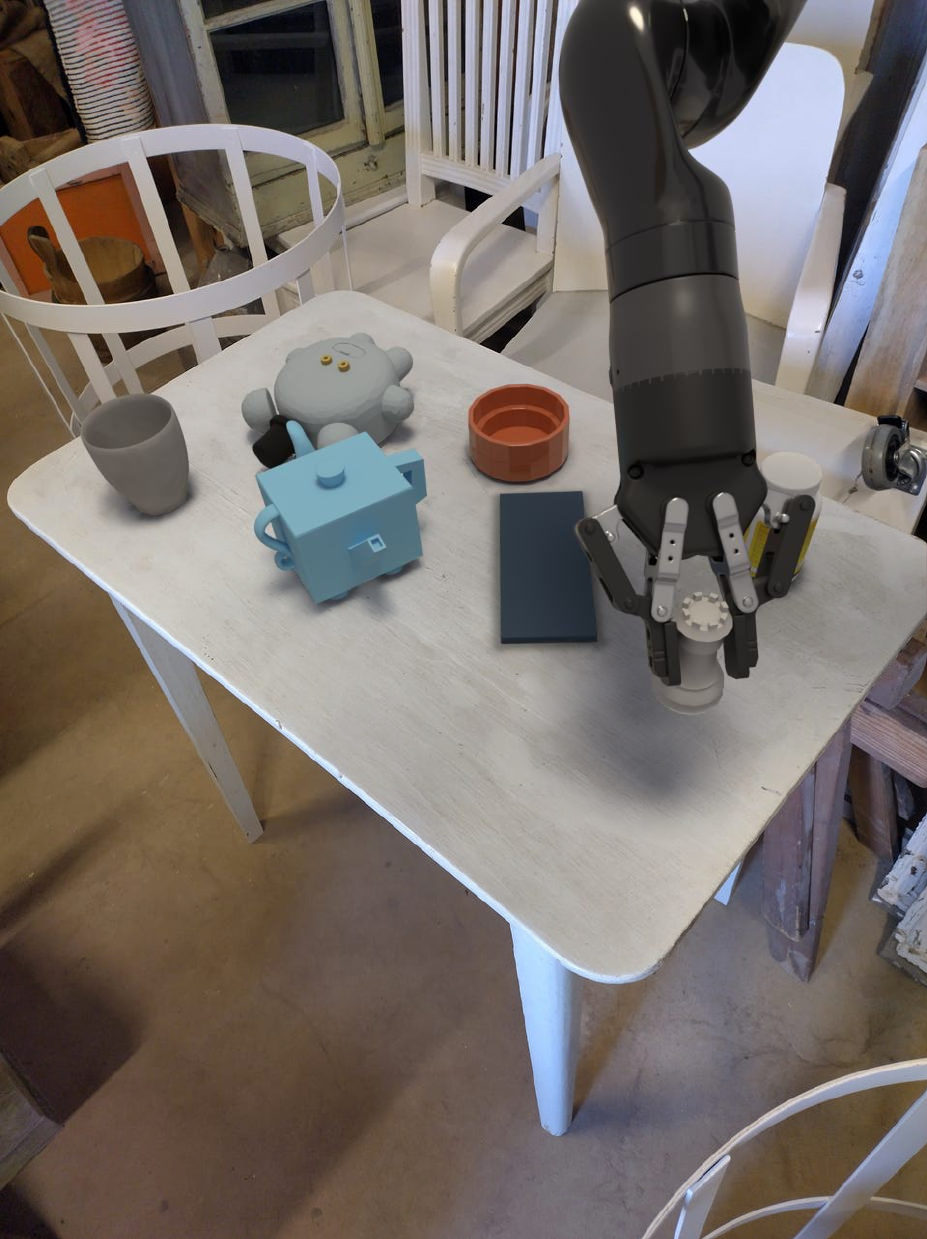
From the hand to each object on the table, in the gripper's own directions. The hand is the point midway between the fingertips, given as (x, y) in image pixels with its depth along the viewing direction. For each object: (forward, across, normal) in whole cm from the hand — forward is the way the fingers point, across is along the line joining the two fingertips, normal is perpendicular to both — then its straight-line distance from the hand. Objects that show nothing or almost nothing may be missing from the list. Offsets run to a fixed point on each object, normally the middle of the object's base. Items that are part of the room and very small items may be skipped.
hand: (704, 678), depth 47 cm
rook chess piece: (+2, 0, +4) cm, 5 cm away
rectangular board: (-7, -6, +28) cm, 29 cm away
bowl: (-18, -6, +39) cm, 44 cm away
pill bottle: (-4, +13, +26) cm, 30 cm away
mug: (-18, -44, +39) cm, 62 cm away
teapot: (-9, -23, +31) cm, 40 cm away
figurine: (-23, -25, +44) cm, 56 cm away
